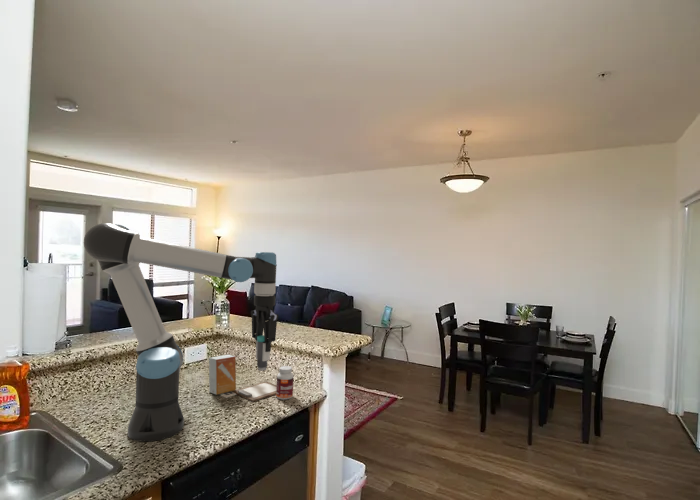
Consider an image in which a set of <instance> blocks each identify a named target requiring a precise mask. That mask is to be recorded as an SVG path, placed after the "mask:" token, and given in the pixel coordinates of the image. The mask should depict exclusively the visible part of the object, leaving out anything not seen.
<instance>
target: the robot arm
mask: <svg viewBox="0 0 700 500" xmlns="http://www.w3.org/2000/svg"><path fill="white" fill-rule="evenodd" d="M83 248H84V249H85V252H86V253H87V254H88V255H89V256H90V257H91V258H92V259H94V260H97V261H98V264H99V266H100V269H101V271H102V272H103V273H106V274H108V275H109V276H110V278H111V281H112V283H113V285H114V288H115V290H116V291H117V294H118V295H117V296H118V297H119V299H120V302H121V304H122V307H123V308H124V311H125V314H126V316H127V318H128V321H129V323H130V326H131V328H132V330H133V333H134V335H135V337H136V340H137V342H138V344H137V346H136V348H135V351H136V354H137V359H136V360H137V361H136V364H135V370H136V378H135V381H136V382H135V405H134V406H135V407H134V409H133V412H132V415H131V417H130V420H129V423H128V425H127V426H128V427H127V436H128V438H129V439H131V440H133V441H137V442H155V441H160V440H164V439H168V438H170V437H173V436H174V435H175V436H176V435H177V434H179V433H180V432H181V431H182V430H183V429H184V426H185V425H184V424H185V419H184V413H183V412H182V407H181V406H180V403H179V396H180V395H179V392H180V374H181V373H180V372H181V369H182V365H183V363H184V356H183V351H182V349H181V348H180V346H179V345H178V344H177V343H176V340H175V338H174V337H175V336H174V335H173V333H170V332H168V331H166V329H165V326H164V323H163V321H162V319H161V317H160V313H159V312H158V308H157V307H156V304H155V302H154V299H153V297H152V295H151V291H150V290H149V286H148V284H147V282H146V279H145V277H144V275H143V273H142V270H141V267H140V264H141V263H142V264H147V265H150V266H151V265H152V266H155V267H162V268H167V269H174V270H179V271H182V272H183V271H184V272H189V273H192V274H193V273H195V274H200V275H205V276H210V277H215V278H220V279H225V280H230V281H234V282H236V283H244V282H247V281H248V280H250V279H254V285H253V286H254V288H253V293H254V294H255V295H254V296H253V305H254V307H255V309H254V310H251V311H250V316H251V337H252V338H254V341H255V360H257V336H260V335H264V340H265V341H264V342H263V355H262V361H267V362H268V361H270V360H271V359H270V357H271V350H272V349H271V347H272V343H273V342H276V337H277V325H278V324H277V323H278V319H279V314H276V313H274V306H275V305H276V295H275V294H276V288H277V287H276V285H277V284H276V282H277V254H276V253H275V252H270V251H256V252H255V256H254V257H249V256H248V257H247V256H233V255H229V254H224V253H221V252H215V251H210V250H205V249H202V248H201V249H200V248H196V247H190V246H187V245H186V246H185V245H182V244H176V243H173V242H167V241H162V240H157V239H153V238H148V237H143V236H141V235H140V234H139V232H136V231H132V230H131V229H129V228H127V227H126V226H124V225H121V224H116V223H115V224H114V223H110V222H102V223H97V224H95V225H93V226H91V227H90V228H89V229H88V230H87V232H86V233H85V235H84V238H83Z"/></svg>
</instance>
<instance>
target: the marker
mask: <svg viewBox="0 0 700 500" xmlns="http://www.w3.org/2000/svg"><path fill="white" fill-rule="evenodd" d="M264 341H265V340H264V334H263V335H260V336H257V359H256V367H257V370H258V371H260V372H262V371H263V372H264V371H266V370H267V368H268V360H267V361H262V355H263V342H264Z"/></svg>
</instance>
